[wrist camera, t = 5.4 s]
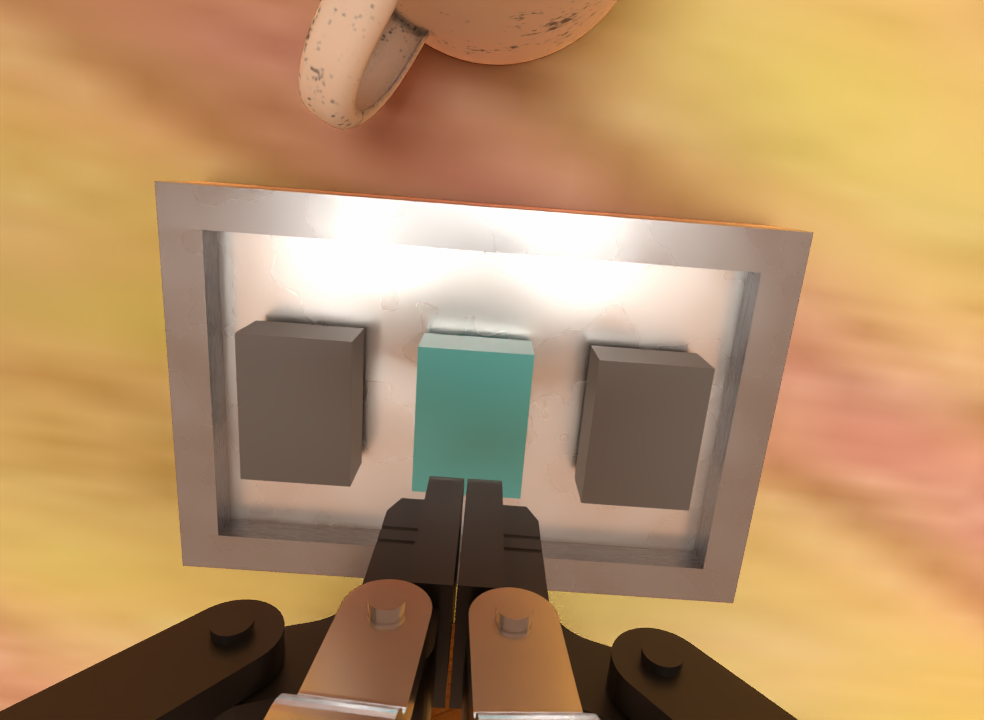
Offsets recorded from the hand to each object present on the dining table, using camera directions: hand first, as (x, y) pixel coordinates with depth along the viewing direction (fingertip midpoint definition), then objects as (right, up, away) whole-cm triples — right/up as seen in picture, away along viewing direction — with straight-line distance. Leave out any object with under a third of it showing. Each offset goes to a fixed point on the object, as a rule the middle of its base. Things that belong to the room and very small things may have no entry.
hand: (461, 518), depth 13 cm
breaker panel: (0, +2, +9) cm, 9 cm away
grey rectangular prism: (-5, +2, +6) cm, 8 cm away
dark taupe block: (+5, +1, +6) cm, 8 cm away
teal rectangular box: (0, +2, +6) cm, 6 cm away
